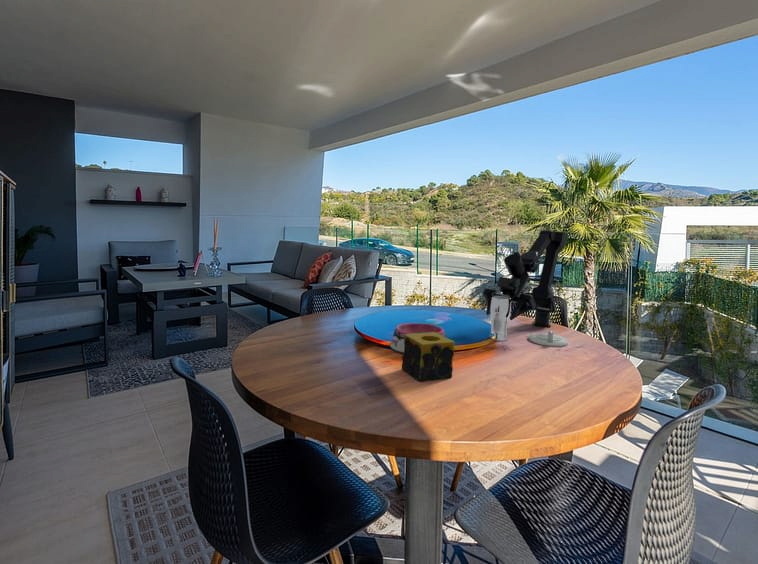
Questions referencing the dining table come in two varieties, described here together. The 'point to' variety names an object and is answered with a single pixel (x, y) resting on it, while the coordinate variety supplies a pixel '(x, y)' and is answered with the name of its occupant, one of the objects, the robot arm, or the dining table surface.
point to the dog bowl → (411, 328)
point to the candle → (428, 356)
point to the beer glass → (500, 316)
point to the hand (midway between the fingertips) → (498, 316)
